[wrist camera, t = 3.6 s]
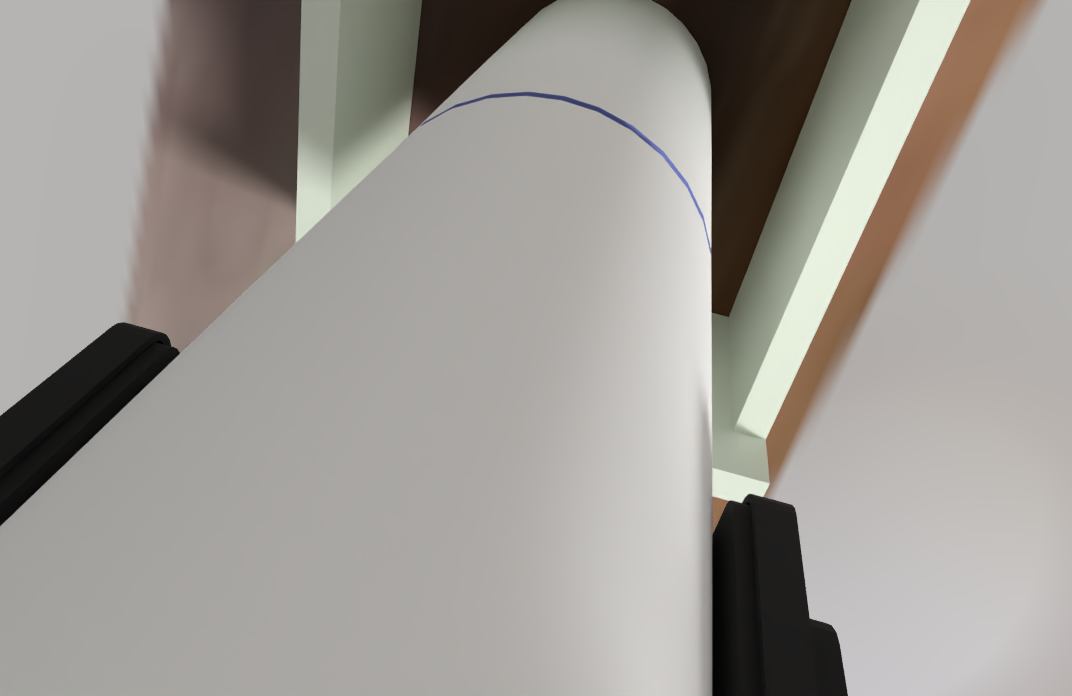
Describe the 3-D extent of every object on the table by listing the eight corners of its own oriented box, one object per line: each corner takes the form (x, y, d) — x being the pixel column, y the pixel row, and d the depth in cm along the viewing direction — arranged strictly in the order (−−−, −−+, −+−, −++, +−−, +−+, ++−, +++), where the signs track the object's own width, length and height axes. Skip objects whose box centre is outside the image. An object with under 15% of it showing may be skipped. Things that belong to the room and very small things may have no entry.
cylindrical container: (739, 15, 24) (908, 984, 4) (679, 225, 28) (591, 1269, 8) (514, -33, 25) (-490, 584, 4) (485, 180, 29) (-100, 1048, 8)
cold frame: (746, 345, 30) (757, 508, 23) (371, 246, 31) (263, 373, 24) (926, -94, 22) (1037, -63, 15) (410, -215, 23) (264, -244, 15)
